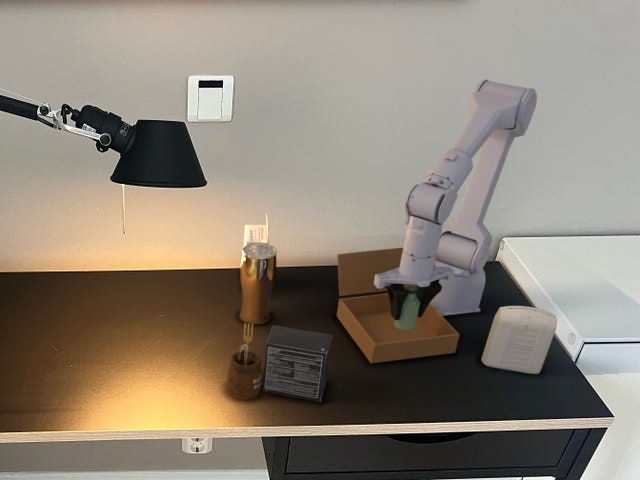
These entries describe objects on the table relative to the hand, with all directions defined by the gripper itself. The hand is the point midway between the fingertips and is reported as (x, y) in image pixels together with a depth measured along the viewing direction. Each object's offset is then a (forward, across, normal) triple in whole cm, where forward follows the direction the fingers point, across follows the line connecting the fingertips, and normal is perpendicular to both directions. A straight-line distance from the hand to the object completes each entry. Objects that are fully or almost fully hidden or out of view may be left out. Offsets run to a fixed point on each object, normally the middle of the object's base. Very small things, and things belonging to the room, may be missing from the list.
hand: (406, 316), depth 141 cm
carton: (+6, 0, +3) cm, 7 cm away
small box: (+6, -25, -9) cm, 27 cm away
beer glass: (+6, -25, +15) cm, 29 cm away
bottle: (+2, 0, 0) cm, 2 cm away
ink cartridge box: (+6, -21, +29) cm, 36 cm away
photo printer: (+6, +16, -11) cm, 21 cm away
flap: (-3, 0, +13) cm, 13 cm away
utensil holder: (+6, -34, -8) cm, 35 cm away
